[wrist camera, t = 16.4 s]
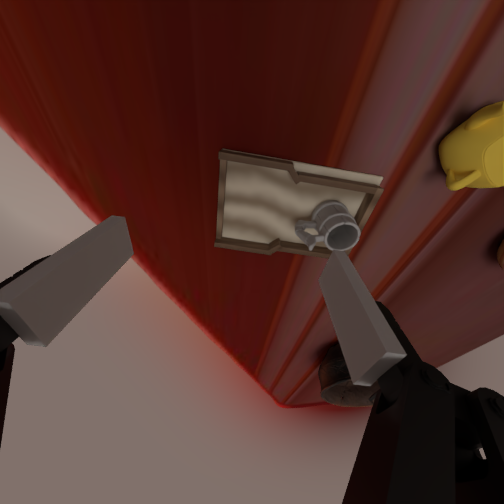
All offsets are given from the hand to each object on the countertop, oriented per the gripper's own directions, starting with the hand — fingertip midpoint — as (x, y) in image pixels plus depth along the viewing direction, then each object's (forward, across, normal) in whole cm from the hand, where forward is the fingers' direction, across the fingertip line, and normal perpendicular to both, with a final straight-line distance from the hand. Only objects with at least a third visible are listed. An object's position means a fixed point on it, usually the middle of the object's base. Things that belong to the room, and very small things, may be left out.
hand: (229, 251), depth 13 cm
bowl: (+32, +46, -62) cm, 84 cm away
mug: (+31, +16, -9) cm, 36 cm away
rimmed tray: (+32, +10, -9) cm, 34 cm away
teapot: (+32, +38, +9) cm, 50 cm away
